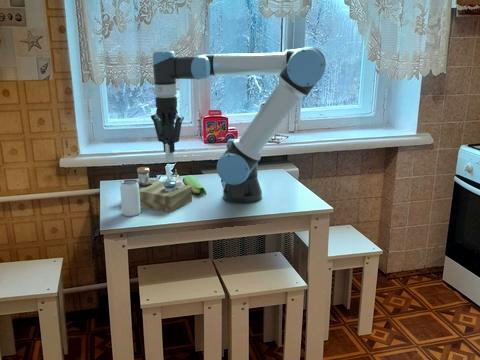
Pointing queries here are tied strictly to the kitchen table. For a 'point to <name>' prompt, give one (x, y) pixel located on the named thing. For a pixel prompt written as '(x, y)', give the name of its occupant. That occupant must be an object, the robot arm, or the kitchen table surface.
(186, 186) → the oak block
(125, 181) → the can
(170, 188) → the salt shaker
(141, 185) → the copper lidded jar
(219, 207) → the kitchen table surface
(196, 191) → the edible corn
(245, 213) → the kitchen table surface
